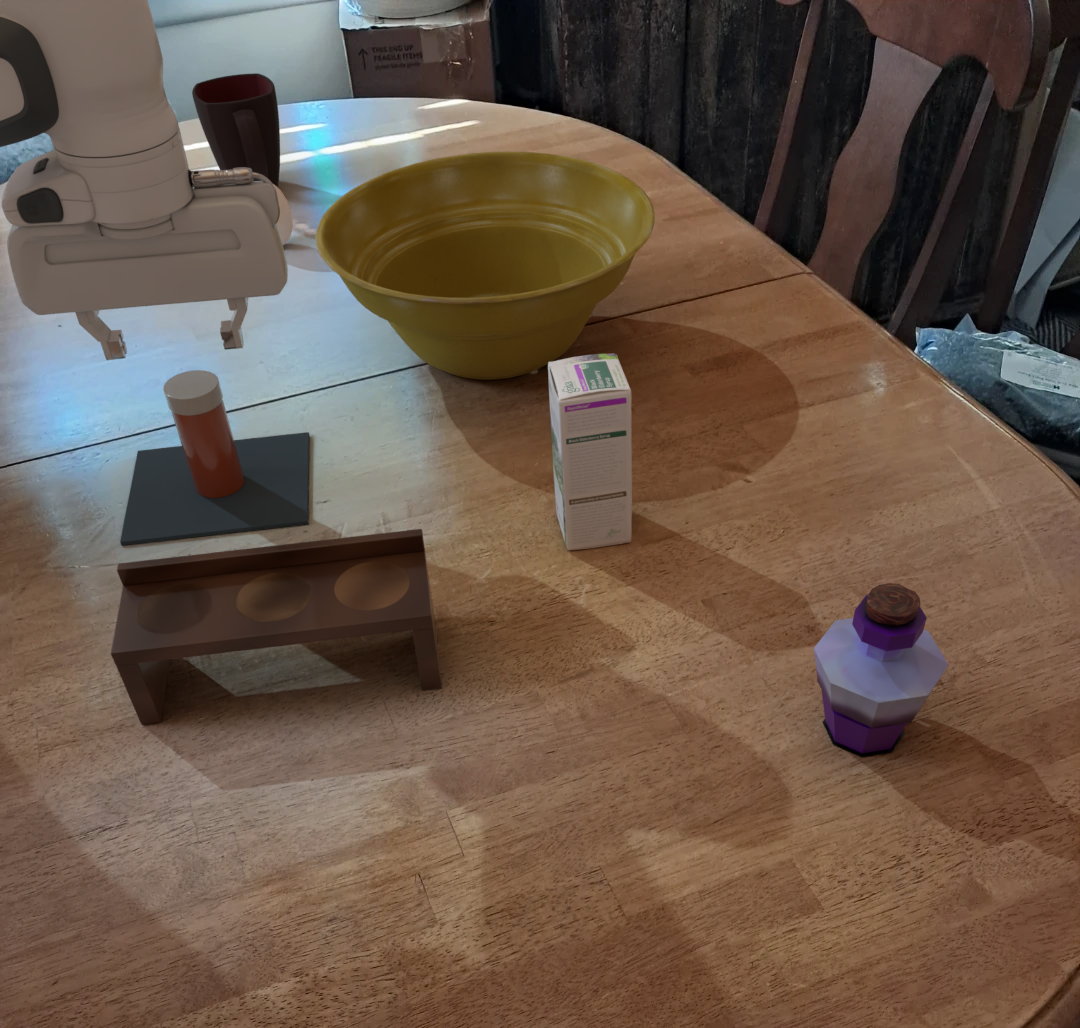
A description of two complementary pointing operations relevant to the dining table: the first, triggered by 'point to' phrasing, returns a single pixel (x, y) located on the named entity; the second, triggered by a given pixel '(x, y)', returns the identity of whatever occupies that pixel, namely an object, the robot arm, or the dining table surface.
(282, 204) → the egg
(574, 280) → the planter bowl
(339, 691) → the dining table surface
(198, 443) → the shaker
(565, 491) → the syrup box
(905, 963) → the dining table surface
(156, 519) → the mat
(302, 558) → the spice shelf
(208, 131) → the cup
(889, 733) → the potion bottle
